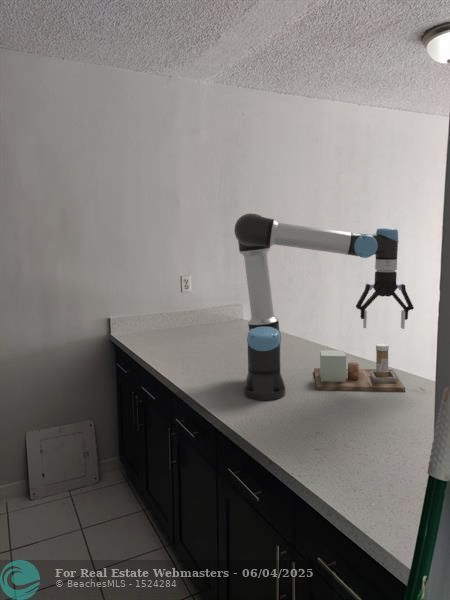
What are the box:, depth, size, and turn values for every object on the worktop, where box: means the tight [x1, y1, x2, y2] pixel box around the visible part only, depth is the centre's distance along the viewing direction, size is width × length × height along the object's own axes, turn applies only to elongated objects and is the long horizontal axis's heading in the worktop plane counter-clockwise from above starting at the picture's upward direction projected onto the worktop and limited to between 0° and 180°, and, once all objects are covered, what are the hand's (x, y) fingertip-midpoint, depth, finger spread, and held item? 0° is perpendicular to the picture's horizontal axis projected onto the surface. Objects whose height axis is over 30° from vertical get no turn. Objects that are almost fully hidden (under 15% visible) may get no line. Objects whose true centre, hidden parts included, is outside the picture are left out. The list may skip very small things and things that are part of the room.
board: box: [313, 361, 406, 393], centre depth 183 cm, size 31×22×8 cm
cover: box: [319, 349, 347, 382], centre depth 182 cm, size 9×8×10 cm
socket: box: [370, 371, 398, 383], centre depth 180 cm, size 8×8×2 cm
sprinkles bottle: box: [375, 343, 390, 377], centre depth 179 cm, size 5×5×13 cm
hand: (383, 327), depth 177 cm, fingers open, 13 cm apart
